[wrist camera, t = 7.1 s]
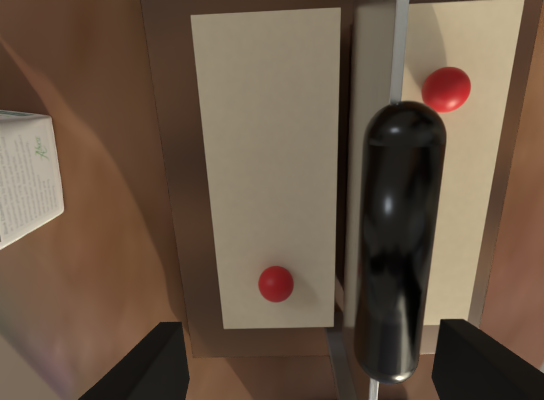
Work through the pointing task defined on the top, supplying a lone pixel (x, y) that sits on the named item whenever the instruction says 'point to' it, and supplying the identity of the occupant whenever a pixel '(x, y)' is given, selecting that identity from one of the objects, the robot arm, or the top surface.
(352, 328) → the cleaver knife
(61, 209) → the syrup box
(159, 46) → the cutting board
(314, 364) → the top surface
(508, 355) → the robot arm
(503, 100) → the cake
